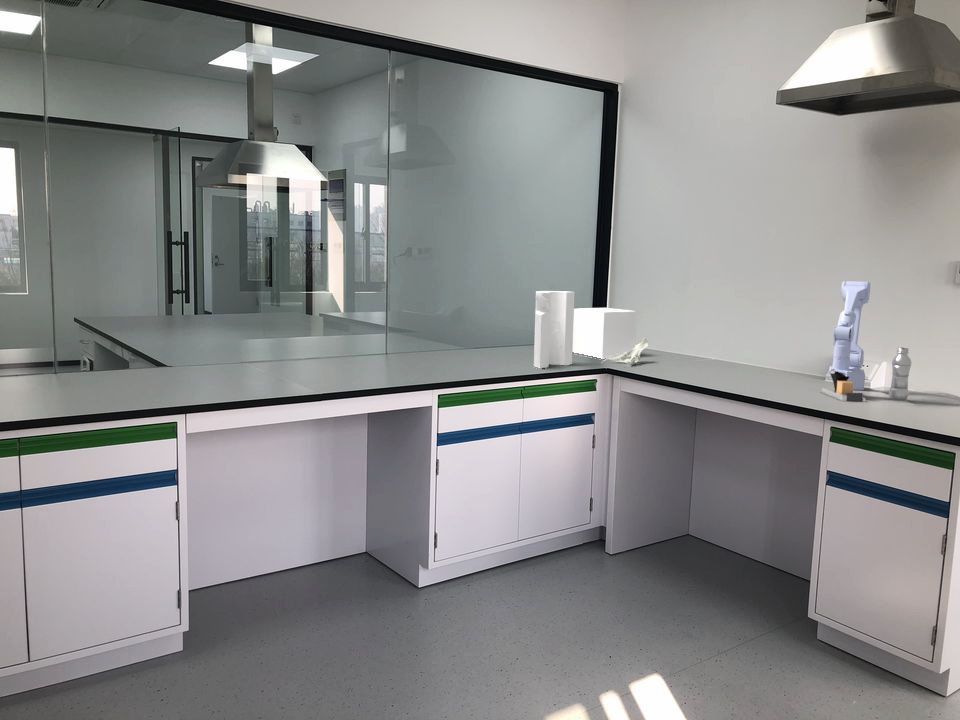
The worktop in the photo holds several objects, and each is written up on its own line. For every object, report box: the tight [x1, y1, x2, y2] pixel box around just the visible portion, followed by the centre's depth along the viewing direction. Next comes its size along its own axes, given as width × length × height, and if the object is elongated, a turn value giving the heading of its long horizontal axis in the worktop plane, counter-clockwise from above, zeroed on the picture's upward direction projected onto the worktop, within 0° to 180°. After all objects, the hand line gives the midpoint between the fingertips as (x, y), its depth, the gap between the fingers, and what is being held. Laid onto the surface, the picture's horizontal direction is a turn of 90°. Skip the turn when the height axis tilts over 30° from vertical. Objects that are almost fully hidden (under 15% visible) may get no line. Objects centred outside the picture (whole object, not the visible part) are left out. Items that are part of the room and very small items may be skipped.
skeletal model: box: [601, 337, 649, 368], centre depth 373 cm, size 16×9×25 cm
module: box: [836, 381, 854, 395], centre depth 289 cm, size 4×4×6 cm
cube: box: [572, 307, 637, 360], centre depth 401 cm, size 25×21×24 cm
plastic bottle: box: [888, 347, 912, 401], centre depth 289 cm, size 6×7×20 cm
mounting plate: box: [819, 387, 867, 403], centre depth 291 cm, size 10×18×4 cm, turn 0°
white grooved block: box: [533, 290, 575, 368], centre depth 359 cm, size 35×11×21 cm
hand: (838, 392), depth 295 cm, fingers closed
